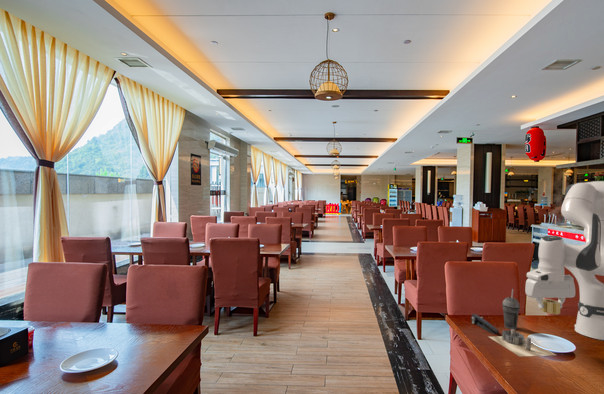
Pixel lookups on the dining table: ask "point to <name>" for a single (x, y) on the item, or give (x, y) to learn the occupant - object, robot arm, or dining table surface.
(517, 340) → the gear
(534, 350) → the gear board
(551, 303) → the gear
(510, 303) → the beverage cup
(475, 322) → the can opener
